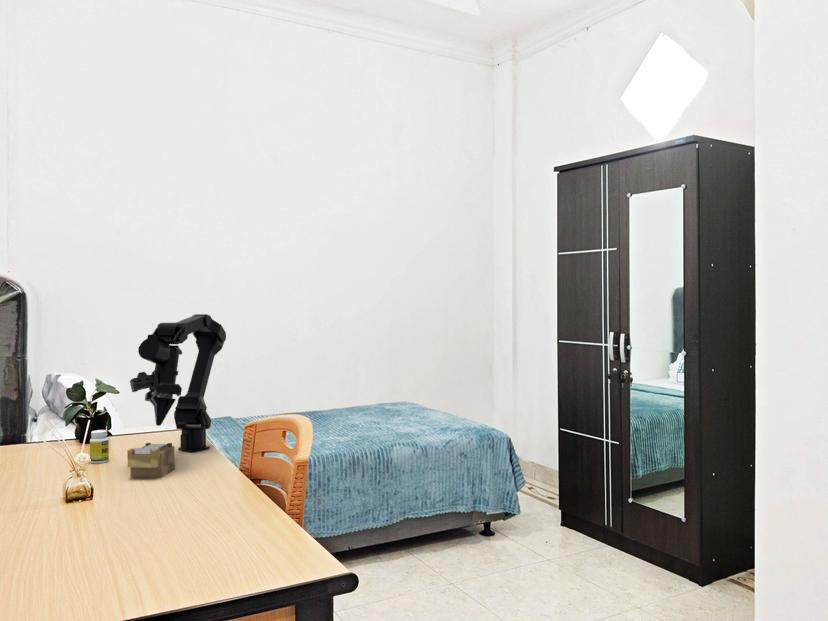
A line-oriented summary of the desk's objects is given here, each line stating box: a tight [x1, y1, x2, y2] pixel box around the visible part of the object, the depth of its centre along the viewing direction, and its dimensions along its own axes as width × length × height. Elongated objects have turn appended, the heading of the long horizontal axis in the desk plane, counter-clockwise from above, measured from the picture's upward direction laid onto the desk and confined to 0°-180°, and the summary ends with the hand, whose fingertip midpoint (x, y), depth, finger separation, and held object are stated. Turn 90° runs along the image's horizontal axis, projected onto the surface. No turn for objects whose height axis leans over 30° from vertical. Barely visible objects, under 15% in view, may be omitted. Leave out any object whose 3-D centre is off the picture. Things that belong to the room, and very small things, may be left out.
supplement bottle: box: [89, 429, 110, 464], centre depth 188 cm, size 5×5×8 cm
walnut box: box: [126, 442, 176, 478], centre depth 174 cm, size 10×8×7 cm
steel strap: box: [135, 443, 168, 454], centre depth 174 cm, size 10×4×2 cm, turn 176°
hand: (158, 425), depth 182 cm, fingers closed
